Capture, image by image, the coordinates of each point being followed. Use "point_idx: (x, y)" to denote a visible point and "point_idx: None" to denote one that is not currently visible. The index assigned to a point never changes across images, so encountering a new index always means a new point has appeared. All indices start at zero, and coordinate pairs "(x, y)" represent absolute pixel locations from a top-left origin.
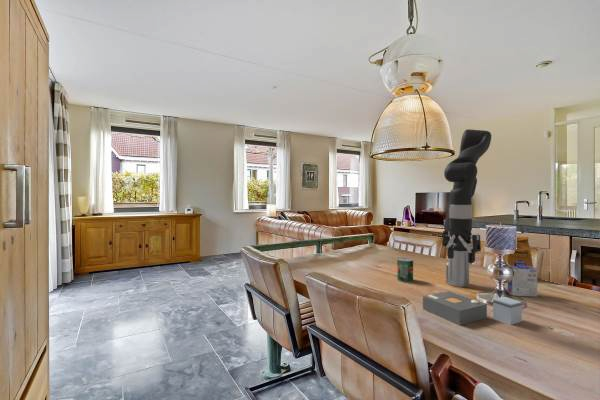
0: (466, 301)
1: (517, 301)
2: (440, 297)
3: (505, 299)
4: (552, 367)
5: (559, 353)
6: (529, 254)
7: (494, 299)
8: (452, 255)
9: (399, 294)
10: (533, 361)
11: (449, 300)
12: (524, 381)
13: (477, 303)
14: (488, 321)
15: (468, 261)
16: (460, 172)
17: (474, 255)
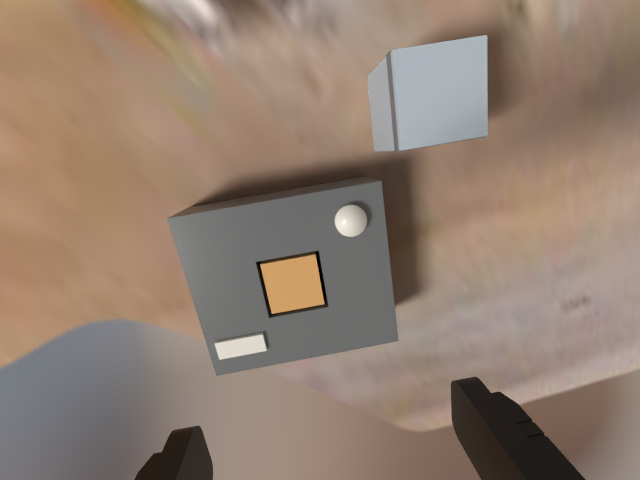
0: (324, 243)
1: (474, 53)
2: (248, 317)
3: (429, 90)
4: (631, 267)
5: (614, 182)
6: None
7: (407, 149)
8: (192, 471)
9: (44, 341)
10: (597, 285)
11: (291, 303)
12: (622, 365)
13: (366, 220)
14: (391, 195)
15: (467, 444)
16: None
17: (570, 475)
